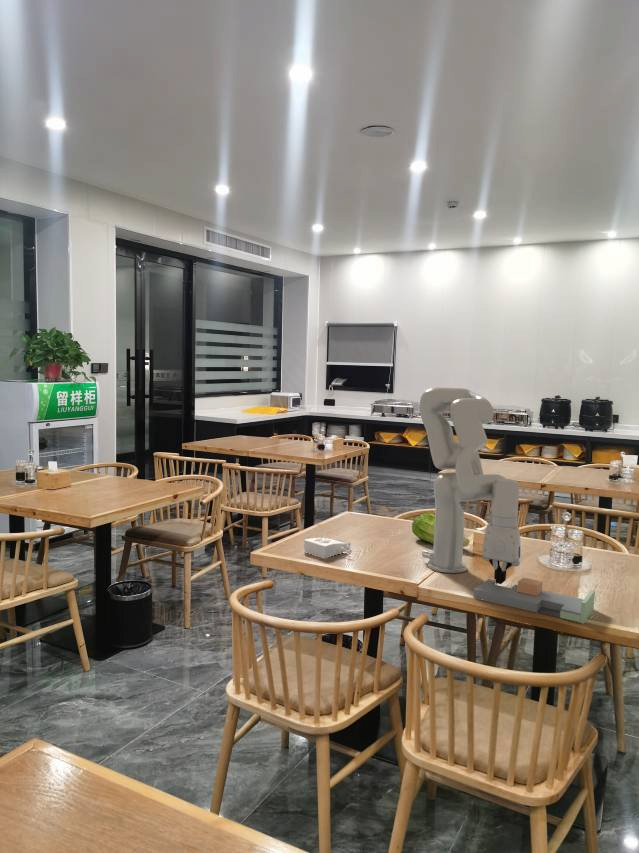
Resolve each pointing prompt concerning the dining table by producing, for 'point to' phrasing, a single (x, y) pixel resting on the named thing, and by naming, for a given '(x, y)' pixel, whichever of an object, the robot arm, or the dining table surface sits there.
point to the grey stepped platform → (538, 601)
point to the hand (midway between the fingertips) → (499, 582)
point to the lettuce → (428, 528)
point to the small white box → (325, 547)
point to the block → (529, 586)
